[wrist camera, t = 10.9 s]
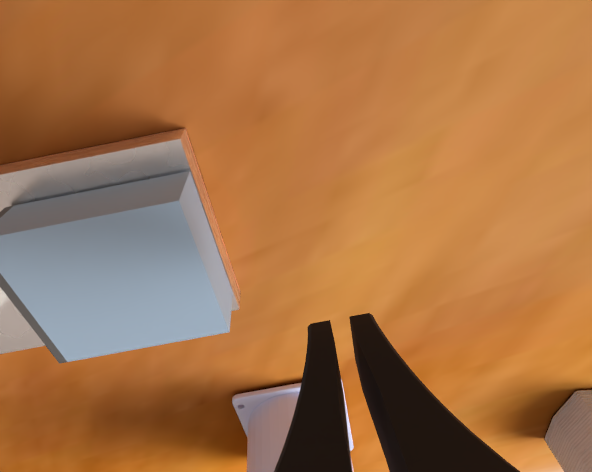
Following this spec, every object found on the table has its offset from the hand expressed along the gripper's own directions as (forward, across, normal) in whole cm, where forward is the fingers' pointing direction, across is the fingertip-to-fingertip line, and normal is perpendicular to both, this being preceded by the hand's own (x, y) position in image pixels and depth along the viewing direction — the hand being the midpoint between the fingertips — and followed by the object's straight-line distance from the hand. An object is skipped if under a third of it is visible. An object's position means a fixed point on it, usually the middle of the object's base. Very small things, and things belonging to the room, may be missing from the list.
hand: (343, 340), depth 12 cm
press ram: (+8, +9, 0) cm, 12 cm away
